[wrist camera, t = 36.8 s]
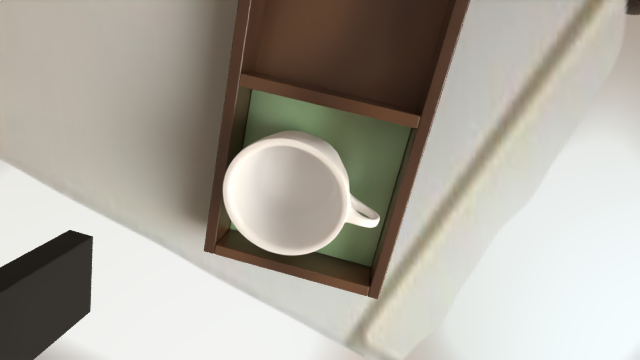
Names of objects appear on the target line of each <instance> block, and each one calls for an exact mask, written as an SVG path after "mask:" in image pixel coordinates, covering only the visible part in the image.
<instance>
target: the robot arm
mask: <svg viewBox="0 0 640 360" xmlns="http://www.w3.org/2000/svg"><path fill="white" fill-rule="evenodd" d="M92 244H93V236H89V235H85V234H82V233H79V232H75V231H72V230H69V231H67V232H65V233H63V234H61V235H60V236H58V237H56V238H54V239H52V240H50V241H48V242H47V243H45V244H43V245H41V246H39V247H37V248H35V249H34V250H32V251H30V252H28V253H26V254H24V255H22V256H21V257H19V258H17V259H15V260H13V261H11V262H10V263H8V264H6V265H4V266H2V267H0V360H34V359H35V358H36V357H37V356H38V355H40V354H41V353H42V352H43V351H44V350H45V349H47V348H48V347H49V346H50V345H51V344H53V343H54V342H55V341H56V340H57V339H58V338H59V337H61V336H62V335H63V334H64V333H66V332H67V331H68V330H69V329H70V328H71V327H73V326H74V325H75V324H76V323H77V322H78V321H79V320H81V319H82V318H83V317H84V316H85V315H87V314H88V313H89V312H90V305H91V275H92Z"/></svg>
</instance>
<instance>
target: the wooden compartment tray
mask: <svg viewBox="0 0 640 360" xmlns="http://www.w3.org/2000/svg"><path fill="white" fill-rule="evenodd" d="M469 3H470V0H239V2H238V9H237V16H236V23H235V30H234V38H233V45H232V52H231V59H230V66H229V73H228V81H227V88H226V95H225V102H224V109H223V117H222V124H221V131H220V138H219V145H218V152H217V160H216V167H215V174H214V181H213V188H212V196H211V203H210V210H209V217H208V224H207V232H206V239H205V246H204V251H205V252H209V253H213V254H216V255H220V256H224V257H227V258H231V259H234V260H238V261H242V262H245V263H249V264H253V265H256V266H260V267H263V268H267V269H271V270H274V271H278V272H281V273H285V274H289V275H292V276H296V277H299V278H303V279H307V280H310V281H314V282H317V283H321V284H325V285H328V286H332V287H335V288H339V289H343V290H346V291H350V292H353V293H357V294H361V295H364V296H367V295H368V297H371V298H375V299H378V298H379V295H380V292H381V289H382V286H383V282H384V279H385V276H386V273H387V269H388V266H389V263H390V260H391V256H392V253H393V250H394V247H395V243H396V240H397V237H398V234H399V230H400V227H401V224H402V221H403V217H404V214H405V211H406V208H407V204H408V201H409V198H410V195H411V191H412V188H413V185H414V182H415V178H416V175H417V172H418V169H419V165H420V162H421V159H422V156H423V152H424V149H425V146H426V143H427V139H428V136H429V133H430V130H431V126H432V123H433V120H434V117H435V113H436V110H437V107H438V104H439V100H440V97H441V94H442V91H443V87H444V84H445V81H446V78H447V74H448V71H449V68H450V65H451V61H452V58H453V55H454V52H455V48H456V45H457V42H458V39H459V35H460V32H461V29H462V26H463V22H464V19H465V16H466V13H467V9H468V6H469ZM289 130H296V131H302V132H305V133H308V134H311V135H314V136H316V137H319V138H321V139H323V140H325V141H326V142H328V143H329V144H330V145H331V146H332V147H333V148H334V149H335V150H336V151H337V153H338V155H339V157H340V159H341V161H342V163H343V165H344V167H345V169H346V172H347V174H348V178H349V191H350V194H351V195H352V196H353V197H355V198H356V199H357V200H359V201H360V202H362V203H363V204H365V205H366V206H368V207H369V208H371V209H372V210H374V211H375V212H376V213H377V214H378V215H379V217H380V220H379V222H378V224H377V226H375V227H372V228H369V227H363V226H359V225H355V224H352V223H347V222H346V223H344V225H343V227H342V229H341V230H340V232H339V233H338V235H337V236H336V237H335V238H334V239H333V240H332V241H331V242H330V243H329V244H327V245H326V246H324V247H323V248H321V249H319V250H317V251H314V252H311V253H308V254H303V255H282V254H277V253H273V252H270V251H267V250H265V249H262V248H260V247H258V246H257V245H255V244H253V243H252V242H251V241H249V240H248V239H247V238H245V237H244V236H243V235H242V234H241V233H240V232H239V230H238V229H237V228H236V227H235V225H234V224H233V222H232V221H231V219H230V217H229V215H228V213H227V210H226V207H225V204H224V199H223V182H224V178H225V174H226V171H227V169H228V167H229V165H230V163H231V162H232V160H233V159H234V158H235V157H236V156H237V155H238V154H239V153H240V152H241V151H242V150H243V149H245V148H246V147H247V146H249V145H250V144H252V143H254V142H256V141H258V140H260V139H262V138H265V137H267V136H270V135H273V134H275V133H278V132H282V131H289ZM357 212H358V213H359V214H360V215H362V216H364V217H366V218H369V217H368V216H367V215H365V214H363V213H361V212H359V211H357Z"/></svg>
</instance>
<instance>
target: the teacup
mask: <svg viewBox="0 0 640 360" xmlns="http://www.w3.org/2000/svg"><path fill="white" fill-rule="evenodd" d="M223 199H224V204H225V207H226V210H227V213H228V215H229V217H230V219H231V221H232V222H233V224H234V225H235V227H236V228H237V229H238V230H239V232H240V233H241V234H242V235H243V236H244V237H245V238H247V239H248V240H249V241H251V242H252V243H253V244H255V245H257V246H258V247H260V248H262V249H265V250H267V251H270V252H273V253H277V254H282V255H303V254H308V253H311V252H314V251H317V250H319V249H321V248H323V247H324V246H326V245H327V244H329V243H330V242H331V241H332V240H333V239H334V238H335V237H336V236H337V235H338V233H339V232H340V230H341V229H342V227H343V225H344V223H346V222H347V223H352V224H355V225H359V226H363V227H369V228H372V227H375V226H377V224H378V222H379V220H380V217H379V215H378V214H377V213H376V212H375V211H374V210H372V209H371V208H369V207H368V206H366V205H365V204H363V203H362V202H360V201H359V200H357V199H356V198H355V197H353V196H352V195H351V194H350V191H349V178H348V174H347V172H346V169H345V167H344V165H343V163H342V161H341V159H340V157H339V155H338V153H337V151H336V150H335V149H334V148H333V147H332V146H331V145H330V144H329V143H328V142H326V141H325V140H323V139H321V138H319V137H316V136H314V135H311V134H308V133H305V132H302V131H296V130H289V131H282V132H278V133H275V134H273V135H270V136H267V137H265V138H262V139H260V140H258V141H256V142H254V143H252V144H250V145H249V146H247V147H246V148H245V149H243V150H242V151H241V152H240V153H239V154H238V155H237V156H236V157H235V158H234V159H233V160H232V162H231V163H230V165H229V167H228V169H227V171H226V174H225V178H224V182H223ZM357 211H359V212H361V213H363V214H365V215H367V216H368V217H369V218H366V217H364V216H362V215H360V214H359V213H358V212H357Z"/></svg>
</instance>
